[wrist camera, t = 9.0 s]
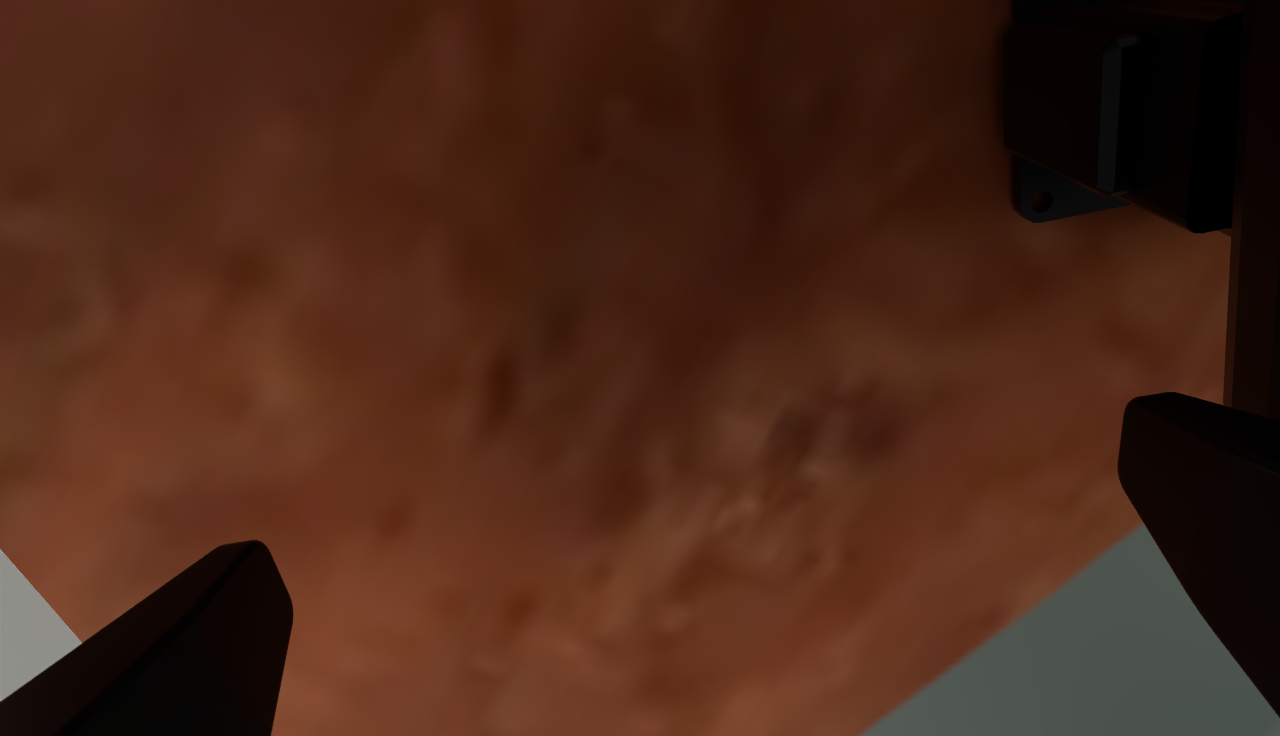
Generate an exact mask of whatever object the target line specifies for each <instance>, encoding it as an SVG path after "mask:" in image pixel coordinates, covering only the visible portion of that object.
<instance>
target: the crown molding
mask: <svg viewBox="0 0 1280 736" xmlns="http://www.w3.org/2000/svg"><path fill="white" fill-rule="evenodd" d="M80 644H82V642H81V641H80V640H79V639H78V638H77V637H76V635H75V634H74V633H73V632H72V631H71V630H70V629H69V627H68V626H67V625H66V624H65V623H64V622H63V620H62V619H61V618H60V617H59V616H58V615H57V614H56V612H55V611H54V610H53V609H52V608H51V607H50V606H49V604H48V603H47V602H46V601H45V600H44V599H43V598H42V596H41V595H40V594H39V593H38V592H37V591H36V590H35V588H34V587H33V586H32V585H31V584H30V583H29V582H28V580H27V579H26V578H25V577H24V576H23V575H22V573H21V572H20V571H19V570H18V569H17V568H16V567H15V565H14V564H13V563H12V562H11V561H10V560H9V559H8V557H7V556H6V555H5V554H4V553H3V552H2V551H1V549H0V701H2V700H3V699H5V698H6V697H7V696H9V695H10V694H12V693H13V692H14V691H16V690H17V689H19V688H20V687H21V686H23V685H24V684H26V683H27V682H28V681H30V680H31V679H33V678H34V677H35V676H37V675H38V674H40V673H41V672H42V671H44V670H45V669H47V668H48V667H49V666H51V665H52V664H54V663H55V662H56V661H58V660H59V659H61V658H62V657H64V656H65V655H66V654H68V653H69V652H71V651H72V650H73V649H75V648H76V647H78V646H79V645H80Z"/></svg>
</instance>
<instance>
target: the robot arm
mask: <svg viewBox="0 0 1280 736" xmlns="http://www.w3.org/2000/svg"><path fill="white" fill-rule="evenodd" d="M1004 145H1005V147H1006V148H1008V149H1009V150H1010V151H1011V152H1013V205H1014V209H1015V211H1016V212H1017V213H1018V214H1019V215H1020V216H1022V217H1023V218H1025V219H1026V220H1029V221H1031V222H1033V223H1042V222H1047V221H1052V220H1056V219H1061V218H1066V217H1071V216H1076V215H1081V214H1085V213H1090V212H1095V211H1100V210H1105V209H1110V208H1114V207H1119V206H1124V205H1129V204H1133V205H1135V206H1137V207H1140V208H1142V209H1144V210H1146V211H1148V212H1150V213H1152V214H1154V215H1157V216H1159V217H1161V218H1163V219H1165V220H1167V221H1169V222H1171V223H1174V224H1176V225H1178V226H1180V227H1182V228H1184V229H1186V230H1189V231H1191V232H1193V233H1206V232H1211V231H1216V230H1217V231H1219V232H1221V233H1223V234H1226V235H1228V236H1230V237H1231V253H1230V273H1229V293H1228V313H1227V333H1226V353H1225V373H1224V393H1223V403H1224V405H1220V404H1216V403H1213V402H1209V401H1206V400H1202V399H1198V398H1195V397H1191V396H1187V395H1184V394H1180V393H1176V392H1165V393H1159V394H1153V395H1147V396H1140V397H1136V398H1133V399H1132V400H1131V401H1130V402H1129V403H1128V404H1127V406H1126V408H1125V411H1124V416H1123V424H1122V432H1121V441H1120V449H1119V457H1118V475H1119V479H1120V483H1121V485H1122V487H1123V489H1124V491H1125V493H1126V495H1127V496H1128V498H1129V500H1130V501H1131V503H1132V505H1133V506H1134V508H1135V509H1136V511H1137V513H1138V514H1139V516H1140V518H1141V519H1142V521H1143V523H1144V524H1145V526H1146V527H1147V529H1148V531H1149V532H1150V534H1151V536H1152V537H1153V539H1154V541H1155V542H1156V544H1157V545H1158V547H1159V549H1160V550H1161V552H1162V554H1163V555H1164V557H1165V558H1166V560H1167V562H1168V563H1169V565H1170V567H1171V568H1172V570H1173V572H1174V573H1175V575H1176V577H1177V578H1178V580H1179V581H1180V583H1181V585H1182V586H1183V588H1184V590H1185V591H1186V593H1187V594H1188V596H1189V597H1190V599H1191V600H1192V602H1193V603H1194V605H1195V606H1196V608H1197V609H1198V611H1199V612H1200V614H1201V615H1202V616H1203V618H1204V619H1205V621H1206V622H1207V623H1208V625H1209V626H1210V627H1211V629H1212V630H1213V632H1214V633H1215V634H1216V636H1217V637H1218V638H1219V639H1220V641H1221V642H1222V643H1223V645H1224V646H1225V647H1226V648H1227V650H1228V651H1229V652H1230V654H1231V655H1232V656H1233V658H1234V659H1235V660H1236V662H1237V663H1238V664H1239V666H1240V667H1241V668H1242V669H1243V671H1244V672H1245V673H1246V675H1247V676H1248V677H1249V679H1250V680H1251V681H1252V682H1253V684H1254V685H1255V686H1256V688H1257V689H1258V690H1259V692H1260V693H1261V694H1262V695H1263V697H1264V698H1265V699H1266V701H1267V702H1268V703H1269V705H1270V706H1271V707H1272V709H1273V710H1274V711H1275V712H1276V714H1277V715H1278V716H1279V718H1280V0H1013V22H1012V23H1011V24H1010V26H1009V27H1008V29H1007V30H1006V32H1005V33H1004ZM1042 191H1044V193H1045V197H1044V200H1043V202H1042V203H1041V204H1040V205H1039V206H1037V207H1035V208H1032V206H1031V202H1032V199H1033V197H1034V196H1035V195H1036V194H1037V193H1039V192H1042ZM292 624H293V605H292V601H291V598H290V595H289V593H288V591H287V589H286V586H285V584H284V582H283V580H282V577H281V575H280V573H279V571H278V568H277V566H276V564H275V562H274V560H273V557H272V555H271V553H270V551H269V549H268V548H267V546H266V545H265V544H264V543H262V542H260V541H258V540H250V541H243V542H237V543H231V544H225V545H222V546H219V547H217V548H215V549H214V550H212V551H211V552H210V553H208V554H207V555H205V556H204V557H203V558H201V559H200V560H198V561H197V562H196V563H194V564H193V565H191V566H190V567H189V568H187V569H186V570H184V571H183V572H182V573H180V574H179V575H177V576H176V577H174V578H173V579H172V580H170V581H169V582H167V583H166V584H165V585H163V586H162V587H160V588H159V589H158V590H156V591H155V592H153V593H152V594H151V595H149V596H148V597H146V598H145V599H144V600H142V601H141V602H139V603H138V604H137V605H135V606H134V607H132V608H131V609H130V610H128V611H127V612H125V613H124V614H123V615H121V616H120V617H118V618H117V619H115V620H114V621H113V622H111V623H110V624H108V625H107V626H106V627H104V628H103V629H101V630H100V631H99V632H97V633H96V634H94V635H93V636H92V637H90V638H89V639H87V640H86V641H85V642H83V643H82V644H80V645H79V646H78V647H76V648H75V649H73V650H72V651H71V652H69V653H68V654H66V655H65V656H64V657H62V658H61V659H59V660H58V661H56V662H55V663H54V664H52V665H51V666H49V667H48V668H47V669H45V670H44V671H42V672H41V673H40V674H38V675H37V676H35V677H34V678H33V679H31V680H30V681H28V682H27V683H26V684H24V685H23V686H21V687H20V688H19V689H17V690H16V691H14V692H13V693H12V694H10V695H9V696H7V697H6V698H5V699H3V700H2V701H0V736H271V733H272V727H273V722H274V717H275V712H276V707H277V702H278V696H279V691H280V686H281V681H282V676H283V671H284V665H285V660H286V655H287V650H288V645H289V640H290V635H291V629H292Z"/></svg>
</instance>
